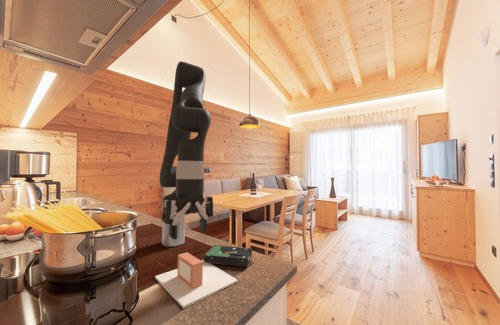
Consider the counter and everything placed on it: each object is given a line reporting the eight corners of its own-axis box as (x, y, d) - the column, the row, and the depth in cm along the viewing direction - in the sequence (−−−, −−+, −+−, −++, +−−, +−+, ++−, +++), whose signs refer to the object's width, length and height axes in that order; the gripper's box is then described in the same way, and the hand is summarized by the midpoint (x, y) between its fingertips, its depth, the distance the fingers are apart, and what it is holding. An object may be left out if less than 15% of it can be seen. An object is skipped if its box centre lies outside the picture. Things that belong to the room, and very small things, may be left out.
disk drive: (252, 255, 74) (213, 251, 77) (252, 248, 75) (213, 244, 77) (247, 268, 64) (203, 263, 66) (248, 258, 64) (203, 254, 67)
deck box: (202, 284, 54) (202, 261, 54) (192, 289, 52) (192, 265, 52) (186, 272, 60) (187, 252, 61) (177, 276, 58) (177, 254, 59)
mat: (155, 278, 58) (155, 276, 58) (203, 261, 69) (203, 259, 69) (183, 308, 45) (183, 305, 45) (237, 282, 56) (237, 280, 56)
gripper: (170, 178, 50) (168, 245, 49) (218, 177, 59) (217, 233, 59) (159, 177, 55) (157, 237, 54) (205, 176, 65) (204, 227, 64)
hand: (188, 235), depth 56 cm, fingers open, 8 cm apart
